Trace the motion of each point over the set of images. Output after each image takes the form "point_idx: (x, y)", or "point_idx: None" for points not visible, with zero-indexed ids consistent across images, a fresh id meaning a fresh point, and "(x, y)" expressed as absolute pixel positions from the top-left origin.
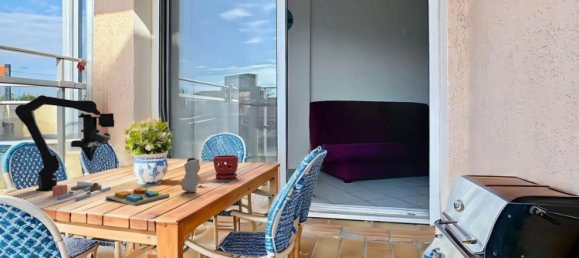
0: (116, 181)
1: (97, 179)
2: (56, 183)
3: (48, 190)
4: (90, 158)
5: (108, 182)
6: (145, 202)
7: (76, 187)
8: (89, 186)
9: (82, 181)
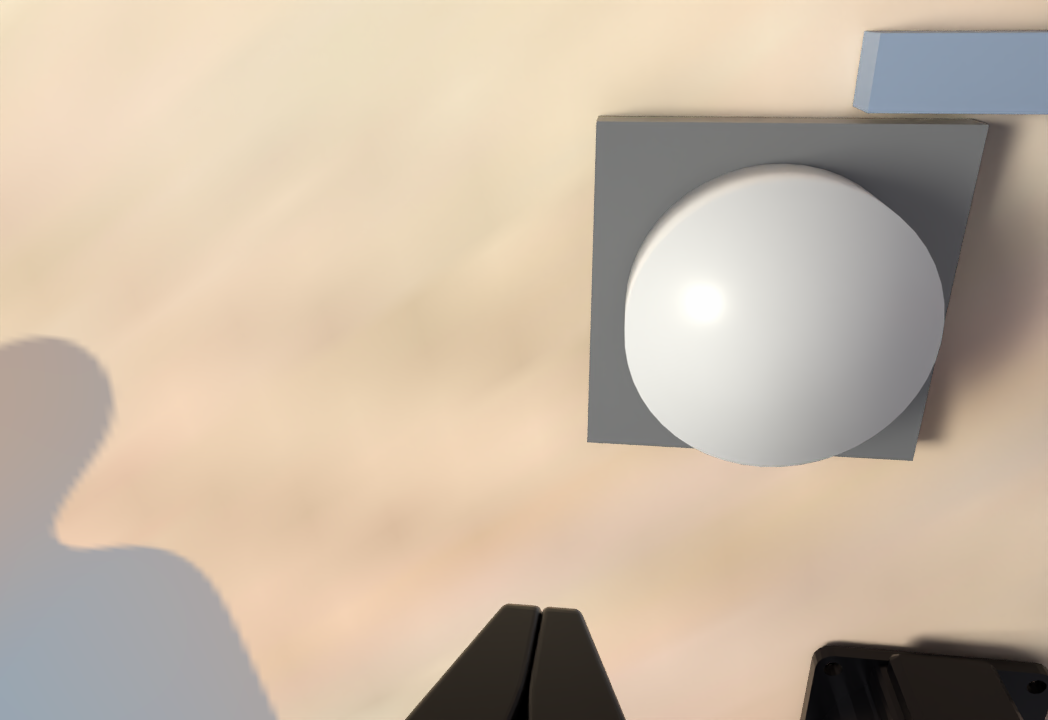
0: (63, 79)
1: (73, 499)
2: (927, 706)
3: (1045, 669)
4: (612, 688)
5: (201, 175)
6: None
7: None
8: None
9: (774, 388)
